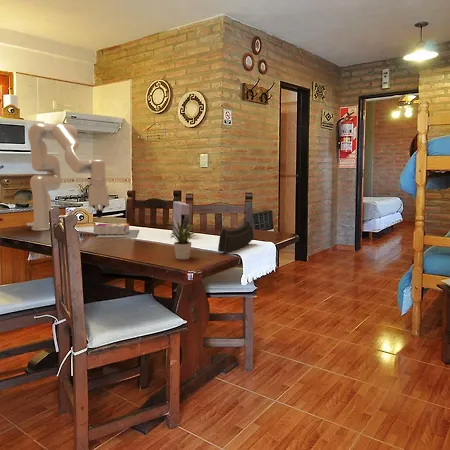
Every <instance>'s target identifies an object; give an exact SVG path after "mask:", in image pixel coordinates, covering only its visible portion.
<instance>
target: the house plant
mask: <svg viewBox="0 0 450 450" xmlns="http://www.w3.org/2000/svg"><path fill="white" fill-rule="evenodd" d="M184 220H185V219H184ZM176 221H177V220H176ZM167 222H168V223H167V224H169V226H168V227H169V228H171V229H173V227H174V228H175V229H176V227H175V226H174V225H173V223H172V222H171V221H168V220H167ZM176 223H177V226H178V229H179V232H178V230H177V229H176V231H177V233H178V235H179V237H178V236H177V234H176V232H175V231H174V229H173V231H174V232H175V233H173V232H172V233H169V235H170V239H172V238H174V239H175V240H176V241H175V242H173V246H174V253H175V257H176V258H175V259H177V260H188V259H190V254H191V250H192V241H189V240H190V239H191V238H192V237H194V236H197V235H196V234H195V232H190V231H191V229H193V228H194V227H195V225H197V224H199V222H196V223H194V224H190V222H189V223H188V225H187V228H186V231H185V232H183V227H184V224H183V226H182V229H181V226H180V225H179V222H178V221H177V222H176ZM170 225H171V226H170ZM194 234H195V235H194ZM188 237H189V238H188Z"/></svg>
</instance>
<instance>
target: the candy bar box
mask: <svg viewBox="0 0 450 450" xmlns="http://www.w3.org/2000/svg"><path fill="white" fill-rule="evenodd" d="M129 230H130V223H98V224H96V225H94V226H93V234H94V236H95V235H96V236H98V235H125V234H127V233H128V232H129Z"/></svg>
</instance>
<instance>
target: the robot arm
mask: <svg viewBox="0 0 450 450" xmlns="http://www.w3.org/2000/svg"><path fill="white" fill-rule="evenodd" d="M77 137H78V130H77V127H75V126H74V125H73V124H68V123H67V124H66V123H56V124H54V123H45V122H37V123H36V122H35V123H33V124H32V125H31V126H30V127H29V129H28V141H29V145H30V156H31V167H32V169H33V170H34V171H35V172H39V173H38V174H37V173H36V174H34V175H33V176H32V177H30V180H29V184H30V185H29V186H30V189H31V192H32V193H31V194H32V203H33V204H32V205H33V206H32V207H33V221H32V222H26V226H27V227H31V231H36V232H37V231H39V232H40V231H42V232H44V231H50V230H49V228H50V224H49V210H50V208H51V209H52V199H51V198H52V197H51V195H50V193H49V191H56V190H58V189H60V187H61V185H62V177H61V174H62V173H61V163H60V160H59V159H58V157H57V156H55V155H53V154H48V147H47V144H46V142H45V141H44V140H45V139H46V140H55V141H57V142H58V144H59V145H60V147H61V148H62V149H63V150H64V160H65V162H66V164H67V165H68V166H69V168H70V169H71V170H72V171H73V172H74V173H75V174H90V180H88V181H87V184H88V185H89V184H90V185H89V187H88V207H90V208H93V209H94V210H95V217H97V218H98V219H101V218H102V217H103V210H104V209H105V208H107V207H108V208H109V207H110V196H109V195H110V194H109V189H108V185H107V182H106V181H107V179H106V161H105V160H104V159H90V158H89V159H88V158H87V159H86V158H79V157H78V156H77V154H76V153H75V152H76V151H77V149H79V146H80V143H79V141H78V140H77V139H76V138H77ZM40 172H45V173H40Z"/></svg>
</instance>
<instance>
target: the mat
mask: <svg viewBox="0 0 450 450" xmlns="http://www.w3.org/2000/svg"><path fill="white" fill-rule="evenodd" d="M139 232H140V229H129V232H128V233H127V234H125V235H96V239H121V238H122V239H125V238H126V239H127V238H128V239H129V238H137V237H138V234H139Z"/></svg>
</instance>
